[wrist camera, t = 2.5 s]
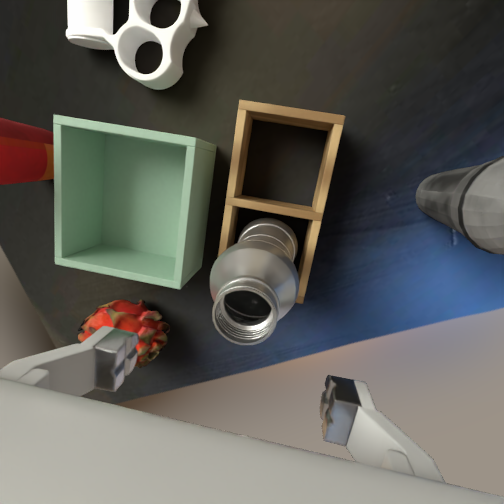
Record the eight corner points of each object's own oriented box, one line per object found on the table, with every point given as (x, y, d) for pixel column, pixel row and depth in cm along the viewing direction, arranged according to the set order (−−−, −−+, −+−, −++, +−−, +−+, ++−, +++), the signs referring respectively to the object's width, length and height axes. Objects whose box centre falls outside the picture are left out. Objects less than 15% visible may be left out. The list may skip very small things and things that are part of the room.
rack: (246, 110, 33) (239, 99, 28) (337, 124, 32) (345, 115, 27) (223, 272, 38) (213, 286, 33) (301, 287, 37) (302, 304, 32)
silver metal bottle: (292, 271, 37) (294, 378, 18) (237, 262, 37) (181, 355, 18) (301, 219, 35) (315, 273, 16) (244, 210, 36) (191, 252, 16)
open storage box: (103, 126, 35) (52, 114, 28) (216, 145, 34) (196, 137, 27) (99, 246, 39) (54, 264, 32) (201, 266, 38) (180, 289, 31)
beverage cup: (426, 241, 34) (604, 328, 15) (388, 190, 33) (523, 214, 14) (488, 199, 32) (781, 236, 13) (449, 144, 31) (700, 98, 12)
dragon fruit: (189, 325, 42) (115, 310, 45) (171, 292, 36) (86, 276, 39) (163, 388, 37) (81, 366, 40) (135, 363, 31) (41, 338, 33)
